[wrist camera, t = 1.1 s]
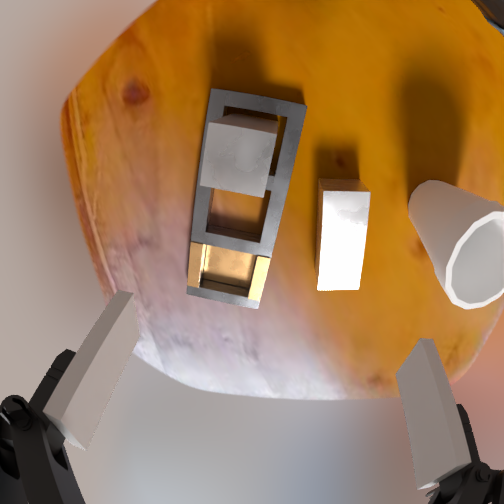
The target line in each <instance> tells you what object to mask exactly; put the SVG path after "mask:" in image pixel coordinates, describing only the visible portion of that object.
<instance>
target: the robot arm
mask: <svg viewBox="0 0 504 504" xmlns="http://www.w3.org/2000/svg"><path fill="white" fill-rule="evenodd" d="M471 1H472V2H473V3H474V4H475V5H476V6H477V7H478V8H479V10H480V11H481V12H482V14H483V16H484V17H485V19H486V20H487V21H488V22H489V23H490V24H491V25H492V26H493V27H494V28H496V29H497V30H498V31H499V32H500V33H501V34H502V35H503V36H504V0H471ZM139 337H140V332H139V326H138V320H137V314H136V307H135V301H134V294H133V293H130V292H126V291H122V290H118V291H117V292H116V294H115V295H114V297H113V298H112V300H111V301H110V302H109V304H108V305H107V307H106V308H105V310H104V311H103V313H102V314H101V316H100V317H99V319H98V320H97V322H96V323H95V325H94V326H93V328H92V329H91V331H90V332H89V334H88V336H87V337H86V339H85V340H84V342H83V343H82V345H81V347H80V348H79V350H78V351H77V353H76V352H73V351H71V350H68V349H66V350H65V351H64V352H62V353H61V354H59V355H58V356H57V357H56V359H55V360H54V362H53V363H52V365H51V368H49V370H48V372H47V373H46V376H44V378H43V380H42V381H41V383H40V384H39V386H38V388H37V389H36V391H35V393H34V395H33V397H32V398H31V400H30V401H29V403H28V402H27V401H26V400H25V399H24V398H23V397H21V396H19V395H11V396H8V397H6V398H5V400H3V401H2V403H1V405H0V504H28V503H29V504H85V501H84V499H83V497H82V494H81V492H80V489H79V487H78V484H77V482H76V479H75V476H74V474H73V471H72V468H71V465H70V463H69V459H68V456H67V453H66V450H65V447H64V445H63V443H64V440H65V438H66V439H67V440H68V441H69V442H70V444H72V445H75V446H77V447H79V448H81V449H83V450H85V451H87V449H88V447H89V445H90V442H91V440H92V437H93V435H94V433H95V430H96V428H97V426H98V424H99V421H100V419H101V417H102V415H103V412H104V410H105V408H106V406H107V404H108V401H109V399H110V397H111V395H112V393H113V391H114V388H115V386H116V384H117V382H118V380H119V378H120V376H121V374H122V372H123V369H124V367H125V365H126V363H127V361H128V359H129V357H130V355H131V353H132V351H133V349H134V347H135V345H136V343H137V341H138V339H139ZM396 378H397V382H398V386H399V391H400V395H401V400H402V404H403V408H404V414H405V418H406V424H407V429H408V434H409V440H410V446H411V451H412V458H413V465H414V472H415V479H416V488H417V490H418V489H422V488H428V487H431V486H433V485H435V484H437V483H438V482H439V485H440V486H439V487H437V488H435V489H434V490H432V491H430V492H428V493H427V495H426V497H428V496H429V495H431V494H433V496H431V497H430V501H429V503H428V504H488V503H490V502H492V504H504V470H502V471H501V470H492V469H490V467H489V466H488V465H487V464H486V463H483V462H481V461H480V458H479V455H478V450H477V446H476V443H475V439H474V436H473V432H472V428H471V425H470V424H469V423H470V421H469V418H468V415H467V412H466V411H465V409H464V408H463V406H462V405H461V404H456V403H455V399H454V396H453V393H452V390H451V387H450V384H449V381H448V378H447V376H446V373H445V370H444V367H443V365H442V362H441V359H440V357H439V354H438V352H437V349H436V346H435V344H434V341H433V339H424V338H420V339H419V341H418V342H417V344H416V345H415V347H414V348H413V350H412V351H411V353H410V354H409V356H408V357H407V359H406V360H405V362H404V363H403V364H402V366H401V367H400V369H399V370H398V371H397V373H396Z"/></svg>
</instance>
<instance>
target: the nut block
mask: <svg viewBox="0 0 504 504" xmlns="http://www.w3.org/2000/svg"><path fill="white" fill-rule="evenodd" d="M369 202H370V191H369V190H368V189H367V187H366V186H365V185H364V184H363V183H362V182H361V180H360V179H318V213H317V239H316V258H315V272H316V279H317V286H318V290H342V289H358V287H359V281H360V275H361V269H362V262H363V255H364V247H365V239H366V231H367V222H368V213H369Z"/></svg>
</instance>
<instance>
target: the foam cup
mask: <svg viewBox="0 0 504 504" xmlns="http://www.w3.org/2000/svg"><path fill="white" fill-rule="evenodd" d="M408 211H409V217H410V220H411V221H412V223H413V225H414V227H415V229H416V231H417V233H418V235H419V237H420V239H421V241H422V243H423V245H424V247H425V249H426V251H427V253H428V255H429V257H430V259H431V261H432V263H433V265H434V268H435V275H436V276H437V278H438V280H439V282H440V284H441V286H442V287H443V289H444V291H445V292H446V294H447V295H448V297H449V299H450V300H451V302H452V303H453V304H455V305H457V306H460V307H462V308H464V309H472V308H479V307H483V306H485V305H487V304H489V303H490V302H492V301H494V300H495V299H497V298H499V297H500V296H501V295H502V294H503V293H504V207H503V206H502V205H501V204H499V203H498V202H496V201H489V200H487V199H484V198H482V197H480V196H477V195H475V194H473V193H470V192H468V191H465V190H463V189H460V188H458V187H455V186H453V185H450V184H448V183H445V182H442V181H439V180H428V181H426V182H424V183H422V184H420V185H418V187H417V188H416V189H415V190H414V192H413V193H412V194H411V197H410V200H409V204H408Z"/></svg>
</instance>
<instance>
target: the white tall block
mask: <svg viewBox="0 0 504 504" xmlns="http://www.w3.org/2000/svg"><path fill="white" fill-rule="evenodd" d="M278 122H279V121H274V120H269V119H264V118H259V117H254V116H248V115H243V114H237V113H233V114H230V115H227V116H224V117H222V118H219V119H216V120H213V121H211V122H209V124H208V131H207V137H206V144H205V151H204V158H203V165H202V172H201V180H200V186H206V187H211V188H217V189H222V190H227V191H232V192H237V193H242V194H247V195H252V196H257V197H262V198H264V193H265V189H266V184H267V179H268V174H269V170H270V165H271V160H272V156H273V151H274V146H275V142H276V137H277V131H278Z"/></svg>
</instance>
